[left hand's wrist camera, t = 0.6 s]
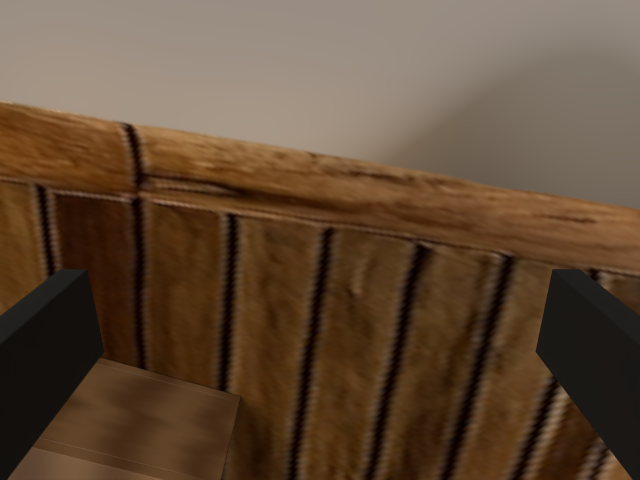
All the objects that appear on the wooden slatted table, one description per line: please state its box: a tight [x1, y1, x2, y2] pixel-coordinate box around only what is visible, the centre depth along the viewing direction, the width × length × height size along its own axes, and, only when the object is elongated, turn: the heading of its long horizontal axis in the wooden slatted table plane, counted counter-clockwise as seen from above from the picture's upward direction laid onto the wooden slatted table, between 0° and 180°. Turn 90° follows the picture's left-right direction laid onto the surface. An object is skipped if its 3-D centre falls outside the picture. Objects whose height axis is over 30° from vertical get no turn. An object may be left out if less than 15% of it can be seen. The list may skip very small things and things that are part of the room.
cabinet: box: [7, 358, 241, 480], centre depth 43 cm, size 18×10×12 cm, turn 71°
